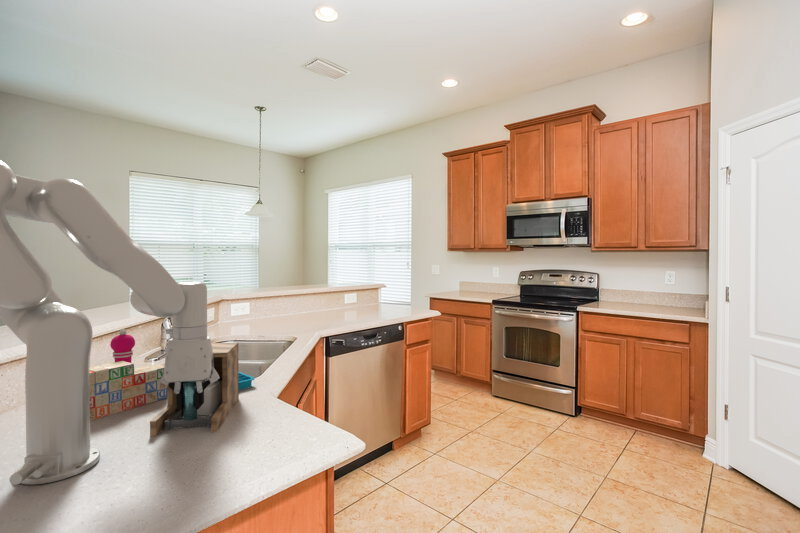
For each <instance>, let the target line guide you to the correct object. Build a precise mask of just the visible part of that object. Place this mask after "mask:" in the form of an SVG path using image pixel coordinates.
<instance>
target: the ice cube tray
mask: <svg viewBox="0 0 800 533" xmlns="http://www.w3.org/2000/svg"><path fill="white" fill-rule="evenodd" d="M238 374H239V391H241V390H245V389H249V388H251V387H252V381H254V380H255V378H256V377H254V376H251V375H249V374H246V373H243V372H241V371H238ZM248 387H249V388H248Z"/></svg>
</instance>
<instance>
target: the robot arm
mask: <svg viewBox="0 0 800 533" xmlns="http://www.w3.org/2000/svg"><path fill="white" fill-rule="evenodd" d="M6 216H9V217H14V218H19V219H24V220H29V221H36V222H42V223H48V224H54V225H55V226H56V227H57V228H58V230H60V231H61V232H62V233H63V234H64V235H65V237H67V238H68V239H69V240H70V242H71V243H73V245H75V246H76V248H77V249H78V250H79V251H80V252H81V253H82V254H83V255H84V257H85V258H86V259H88V260H89V261H90V262H91V263H93V264H94V265H95V266H96V267H98V268H100V269H101V270H103V271H106V272H107V273H110V274H111V275H113V276H115V277H116V278H117V279H119V280H120V281H122V282H123V283H124V284H126V286H128V287H129V288H130V289H131V290H132V291H131V294H130V297H129V300H130V304H131V306H132V308H133V309H135V310H136V311H137V312H139V313H141V314H143V315H147V316H153V317H157V318H164V319H165V318H171V319H172V320H171V323H172V324H171V325H172V326H171V327H169V328H166V329H165V334H166V335H170V336H171V338H170V339H168V340H167V344H166V349H165V350H166V351H165V356H164V357H165V358H164V365H163V366H164V374H163V376H162V378H161V380H160V383H162V384H165V385H167V386H169V387H170V388H171V389H172V390H173V391H174V393H175V394H176V405H177V406H178V410H182V409H183V382H192V381H196V385H197V392H196V393H195V409H196V410H197V409H199V408H200V407H201V406H202V405H203V403H204V389H205V388H206V387H207V386H208V385H210V384H212V383H213V382H215V381H217V380H218V379H219V378H220V377H219V375H218V373H217V372H216V370H215V368H214V359H213V350H212V344H211V343H212V341H211V337H210V336H208V286H207V285H206V283H204V282H202V281H201V282H200V281H179V282H177V281H176V280H175V279H174V277H173V276H172V275H171V274H170V273H169V271H168V270H167V269H166V268H165V267H164V266H163V265H162V263H160V262H159V261H158V260H157V259H155V257H153V256H152V255H151V254H150V253H148V252H147V251H146V250H145V249H144V248H143V247H142V246H141V245H140V244H139V243H137V242H136V241H135V240H134V239H132V238H131V237H130V235H128V233H127V232H126V231H125V230H124V229H123V228H122V227H121V226H120V225H119V224H118V222H117V220H115V219H114V218H113V217H112V215H111V214H110V212H108V210H107V209H106V208H105V207H104V206H103V205H102V204H101V202H100V201H99V200H98V199H97V197H96V196H94V194H93V193H92V192H91V191H90V190H89V189H88V188H87V187H86V186H85V185H83V183H81V182H79V181H78V180H75V179H72V178H64V177H63V178H55V179H54V178H53V179H51V180H42V179H37V178H32V177H27V176H24V175H20V174H16V173H14V171H13V170H12V168H11V167H10V166H9V165H8V164H7V163H5V162H4V161H2V160H1V159H0V320H1V321H2V322H3V323H4V324H5V325H6V326H7V327H8V329H10V330H11V332H12V333H13V334H14V335H15V336H16V337H17V338H18V339H19V341H21V342H22V343H23V344H25V345H26V355H25V356H26V357H25V359H26V360H25V370H24V379H25V380H24V383H25V384H24V388H25V389H24V390H25V391H24V394H25V440H26V441H25V443H26V444H25V446H26V447H25V448H26V449H25V450H26V452H25V453H26V456H25V457H24V458H23V460H24V463H23V464H22V465H21V466H19V467H18V468H17V469H16V470H15V472H14V473H13V474H12V475H10V477H9V482H10V484H12V485H19V484H22V485H43V484H48V483H50V484H51V483H53V482H57V481H62V480H65V479H68V478H71V477H74V476H76V475H79V474H81V473H83V472H85V471H87V470H90V468H92V467H94V466H95V465H96V464H97V463H98V462H99V461H100V458H101V453H100V450H99V449H97V448H96V447H92V446H91V420H90V381H89V369H90V366H91V365H90V364H91V363H90V362H91V352H92V346H93V335H94V333H93V326H92V324H91V321H90V319H89V318H88V316H86V314H84V313H83V311H81V310H79V309H77V308H75V307H72V306H69V305H66V303H65V302H64V301H63V299H61V298H60V296H59V295H58V294H57V293H56V292H55V290H54V289H53V281H52V278H51V276H50V274H49V272H48V271H47V269H45V267H44V266H43V265H42V264H41V262H39V261H38V260H37V258H36V257H35V256H34V255H33V254H32V253H31V252H30V250H29V248H28V247H26V245H25V244H24V242H22V240H21V239H20V237H19V236H18V234H17V233H16V232H15V230H14V229H13V228H12V226H11V225H10V222H9V221H8V219H7V217H6ZM210 375H211V378H210V379H208V378H209V377H210ZM207 379H208V380H207ZM205 380H206V381H205Z"/></svg>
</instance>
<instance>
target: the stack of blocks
mask: <svg viewBox="0 0 800 533" xmlns="http://www.w3.org/2000/svg"><path fill="white" fill-rule="evenodd" d="M164 366H165V365H161V364H157V363H156V364H155V363H154V364H151V365H146V366H145V365H144V366H142V367H137V368H135V363H133V362H131V363H129V362H125V361H119V362H115V361H114V362H110V363H103V364H101V365H100V364H99V365H96V366H91V367H90V369H89V381H90V421H93V420H96V419H99V418H103V417H107V416H109V415H113V414H118V413H121V412H124V411H126V410H127V411H128V410H132V409H133V408H138V407H141V406H144V405H148V404H152V403H154V402H158V401H162V400H165V399H167V385H165V384H162V383H160V380H161V378H162V376H163V374H164Z"/></svg>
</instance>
